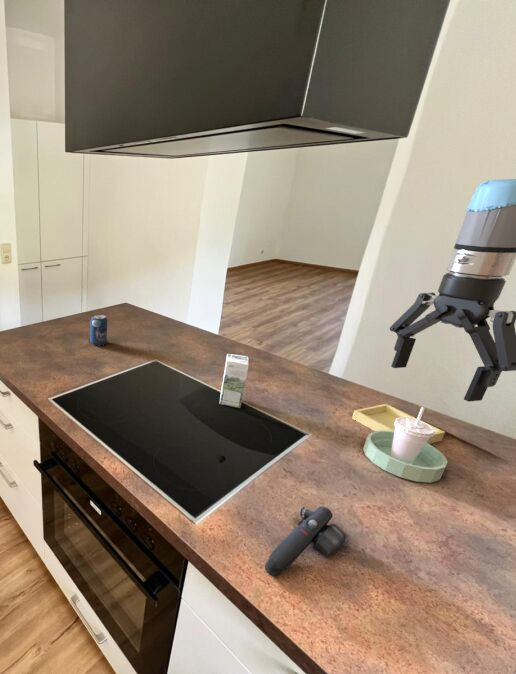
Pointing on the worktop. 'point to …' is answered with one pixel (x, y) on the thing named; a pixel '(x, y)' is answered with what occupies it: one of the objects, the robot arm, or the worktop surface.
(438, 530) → the worktop surface
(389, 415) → the tray
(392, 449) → the smoothie
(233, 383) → the syrup box
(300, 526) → the can opener
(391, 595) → the worktop surface
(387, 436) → the bowl
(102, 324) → the soda can
